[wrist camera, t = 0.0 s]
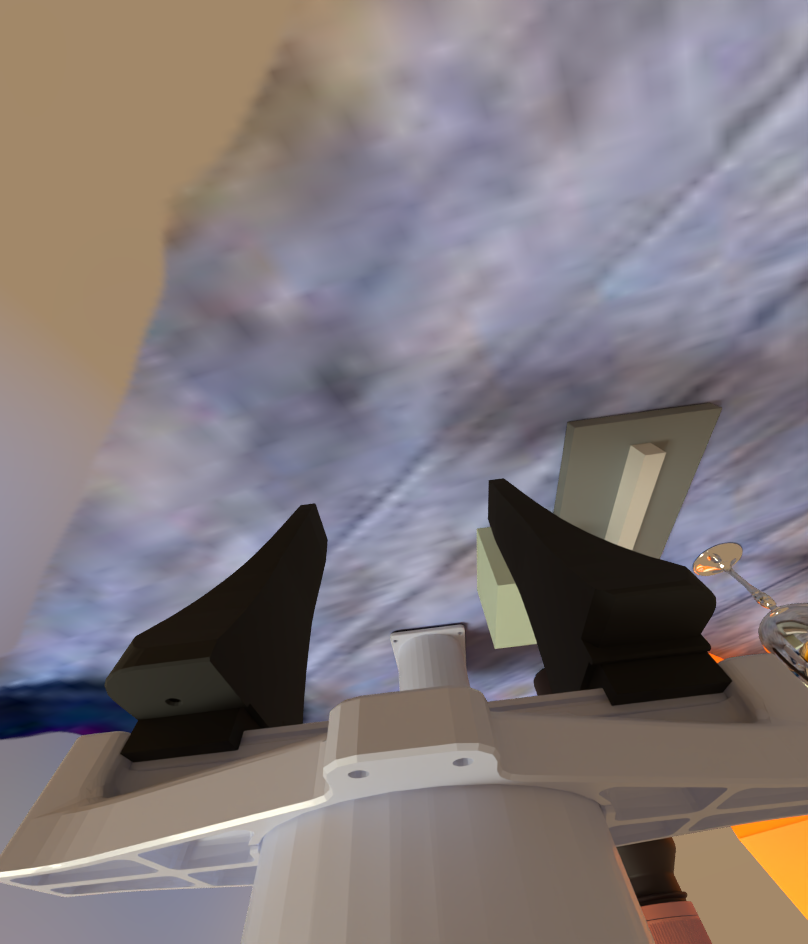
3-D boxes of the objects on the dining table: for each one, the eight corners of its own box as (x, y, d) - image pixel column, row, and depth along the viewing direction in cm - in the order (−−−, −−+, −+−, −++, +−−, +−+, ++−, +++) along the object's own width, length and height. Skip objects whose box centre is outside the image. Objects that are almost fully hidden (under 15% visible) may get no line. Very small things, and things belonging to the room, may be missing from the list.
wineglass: (693, 544, 30) (853, 682, 20) (758, 532, 30) (955, 666, 19) (679, 584, 33) (811, 722, 23) (737, 573, 33) (899, 709, 22)
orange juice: (730, 661, 42) (965, 923, 25) (671, 692, 46) (842, 938, 29) (696, 646, 40) (930, 925, 23) (637, 680, 43) (800, 941, 26)
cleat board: (647, 561, 31) (667, 582, 29) (543, 574, 31) (555, 596, 29) (709, 402, 23) (743, 416, 20) (567, 422, 23) (586, 437, 21)
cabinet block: (527, 582, 32) (554, 641, 27) (477, 589, 32) (494, 648, 27) (535, 511, 27) (571, 566, 22) (476, 519, 27) (498, 575, 22)
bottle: (535, 664, 40) (648, 955, 23) (589, 658, 40) (744, 945, 23) (529, 691, 43) (624, 960, 26) (580, 685, 43) (707, 951, 26)
